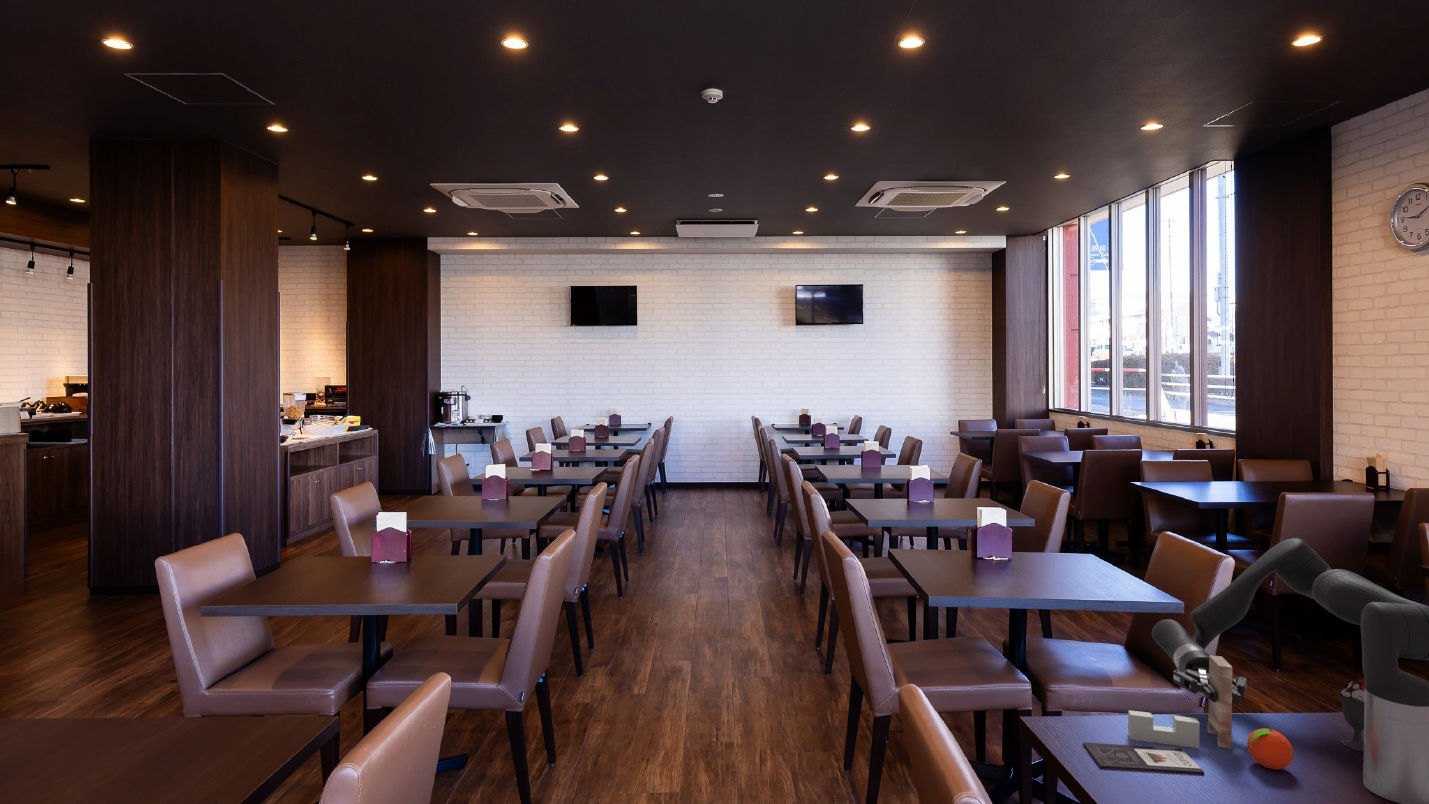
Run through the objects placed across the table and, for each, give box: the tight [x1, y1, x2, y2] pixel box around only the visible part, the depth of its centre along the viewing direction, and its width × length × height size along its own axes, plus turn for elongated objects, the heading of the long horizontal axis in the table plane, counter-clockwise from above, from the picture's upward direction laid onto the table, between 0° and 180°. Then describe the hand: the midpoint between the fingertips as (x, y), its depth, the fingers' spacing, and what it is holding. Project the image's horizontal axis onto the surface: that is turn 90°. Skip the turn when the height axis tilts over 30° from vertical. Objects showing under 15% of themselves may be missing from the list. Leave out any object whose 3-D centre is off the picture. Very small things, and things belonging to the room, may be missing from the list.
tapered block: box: [1207, 654, 1233, 750], centre depth 148 cm, size 2×7×16 cm, turn 162°
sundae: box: [1336, 677, 1365, 752], centre depth 145 cm, size 7×7×15 cm
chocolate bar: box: [1082, 742, 1205, 776], centre depth 140 cm, size 9×1×18 cm
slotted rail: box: [1127, 710, 1200, 749], centre depth 147 cm, size 12×2×5 cm, turn 72°
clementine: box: [1246, 727, 1294, 770], centre depth 137 cm, size 8×7×7 cm
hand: (1225, 698), depth 145 cm, fingers open, 3 cm apart
